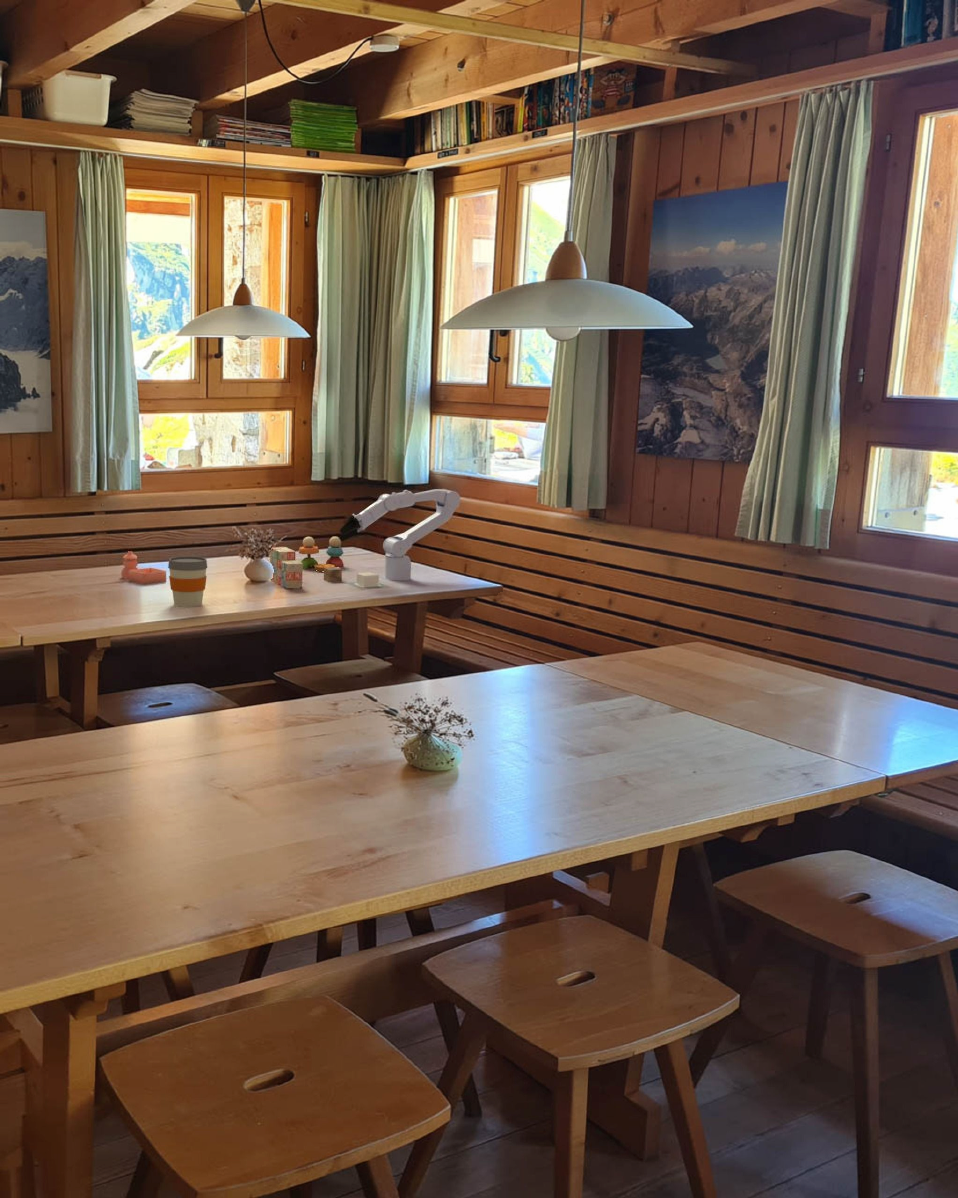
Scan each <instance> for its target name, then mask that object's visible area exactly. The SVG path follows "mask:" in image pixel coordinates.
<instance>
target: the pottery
mask: <svg viewBox="0 0 958 1198" xmlns="http://www.w3.org/2000/svg"><path fill="white" fill-rule="evenodd" d="M137 559H138V556H137V555H136V554H134V553H133V551H132V550H131V551H129V550H128V551H127V554H125V555H123V561H122V566H123V568H122V570H121V572H120V574H121V578H122V579H124V580H128V581H129V582H130V583H135V584H139V585H144V586H146V585H152V584H159V583H166V582H167V570H164V569H160V568H155V567H145V568H143V567H142V568H138V567H137V566H138V563H139V562H138V561H137Z"/></svg>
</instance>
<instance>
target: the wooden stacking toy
mask: <svg viewBox="0 0 958 1198" xmlns="http://www.w3.org/2000/svg"><path fill="white" fill-rule="evenodd" d="M338 537H339V536H332V537H331V538H330V539H329V541H328V543H329V546H328V547H327V549H326V551H325V553H326V555H328V556H329V558H327V560H326V562H325V563H319V562H318V560H316V558H314V557H311V556H312V555H315V554H319V553H320V550H319V547H318V546H315V544H316V543H315V539H314V538H313V537H312V536H306V537H304V538H303V540H302V545H303V546H299V549H298V554H301V555H306V556H307V557H304V558H303V559H301V561H300V562H301V563H303V568H307V569H308V567H312V566H314V567H313V568H314V570H317V571H324V568H329V567H343V568H345V566H344V562H343V559H342V558H341V556H342V555H344V550H343V548H342V547H341V545H342V542H341V540H340V539H339V538H338ZM317 571H316V572H317Z"/></svg>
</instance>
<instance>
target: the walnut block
mask: <svg viewBox="0 0 958 1198" xmlns="http://www.w3.org/2000/svg"><path fill="white" fill-rule="evenodd" d="M342 576H343V569H342V568H337V567H329V568H324V572H323V580H324V581H326V582H328V583H332V582H342V580H343V578H342Z"/></svg>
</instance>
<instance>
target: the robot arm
mask: <svg viewBox="0 0 958 1198" xmlns="http://www.w3.org/2000/svg"><path fill="white" fill-rule="evenodd" d="M426 501H428V502H429V501H435V504H436V505H435V506H436V509H435V510H436V511H435V513H433V514H432V515H430V516H428V517H426V518H425V519H424V520H422V521H421V522H419V523H418V524H416V525H414V526H412V527H411V528H409V529H408V530H406V531H405V532H403V533H400V534H399V533H398V534H396V535H394V536H391V537H390V536H389V537H387V538H386V539H385V540H384V541H383V544H382V548H383V550H384V552H385V561H384V564H385V565H384V576H383V575H382V576H380V578H381V579H384V580H386V581H390V582H391V581H392V582H393V581H406V580H409V581H411V580H412V578H411V577H412V576H411V575H412V562H411V558H410V557H409V556H408V555H406V554H407V552H408V551H409V550H410V549H412V547H413V544H415V543H416V542H418V541H419V540H421V539H422V538H424V537H426V536H427V535H429V534H431V532H433V531H435V530H436V529H438V528H439V527H441V526H442V525H444V524H446V523H447V522H449V521H450V519H451V517H452V516H453V514H454V513H455V511H456V509H459V507H460V503H461V496H460V494H459V493H458V491H455V490H449V489H446V488H441V489H440V488H439V489H438V488H437V489H436V488H435V489H430V490H426V491H421V492H416V493H413V492H412V491H411V490H408V489H405V490H404V489H403V491H402V492H394V491H393V492H391V494H388V493H383V494H380V495H379V497H378V499H377V500H376V501H375V502H373V503H372V504H371V505H369V506H368V507H366V508H365V509H364V510H362V511H360V512H359V513H358V514H355V513H352V514H351V515H350V517H349V518H348V520H347V521H346V522H345V524H344V525H343V526H342V527H341V528H340V529H339V533H341V534H340V535H339V536H337V537H338V538H339V539H340V540H341V543H342V542H345V541H347V540H349V539H352V538H358V537H360V532H361V531H364V530H365V529H366V528H367V527H369V526H370V525H371V524H374V522H376V521H378V519H380V518H382V517H383V516H384V515H385V514H386V513H388V512H389V511H397V509H401V508H406V507H412V506H413V507H414V505H415V503H419V502H426Z"/></svg>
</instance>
